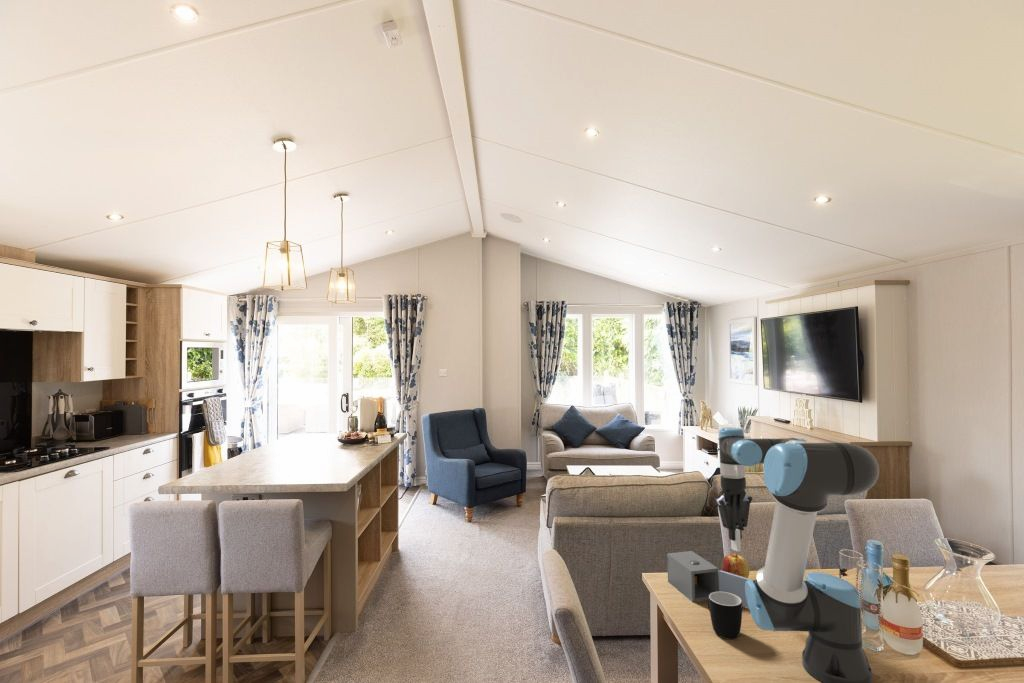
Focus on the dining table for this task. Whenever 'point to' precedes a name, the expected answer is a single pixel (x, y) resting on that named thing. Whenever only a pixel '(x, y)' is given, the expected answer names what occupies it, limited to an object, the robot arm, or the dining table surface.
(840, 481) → the robot arm
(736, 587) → the door
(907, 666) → the dining table surface
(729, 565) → the apple
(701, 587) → the case
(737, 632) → the mug
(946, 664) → the dining table surface
